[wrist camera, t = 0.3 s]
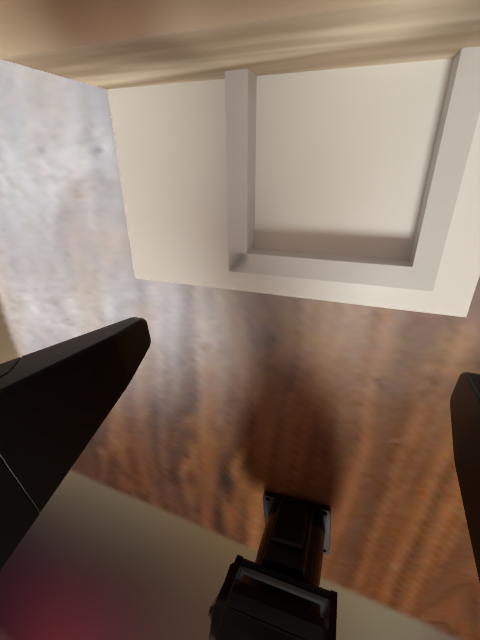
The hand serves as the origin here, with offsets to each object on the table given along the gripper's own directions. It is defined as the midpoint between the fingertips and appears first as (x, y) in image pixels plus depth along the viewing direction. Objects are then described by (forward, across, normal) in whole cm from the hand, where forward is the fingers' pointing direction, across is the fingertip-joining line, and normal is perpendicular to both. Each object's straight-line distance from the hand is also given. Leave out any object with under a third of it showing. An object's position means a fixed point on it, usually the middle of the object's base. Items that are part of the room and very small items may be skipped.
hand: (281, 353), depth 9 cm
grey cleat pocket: (+14, +3, -1) cm, 15 cm away
